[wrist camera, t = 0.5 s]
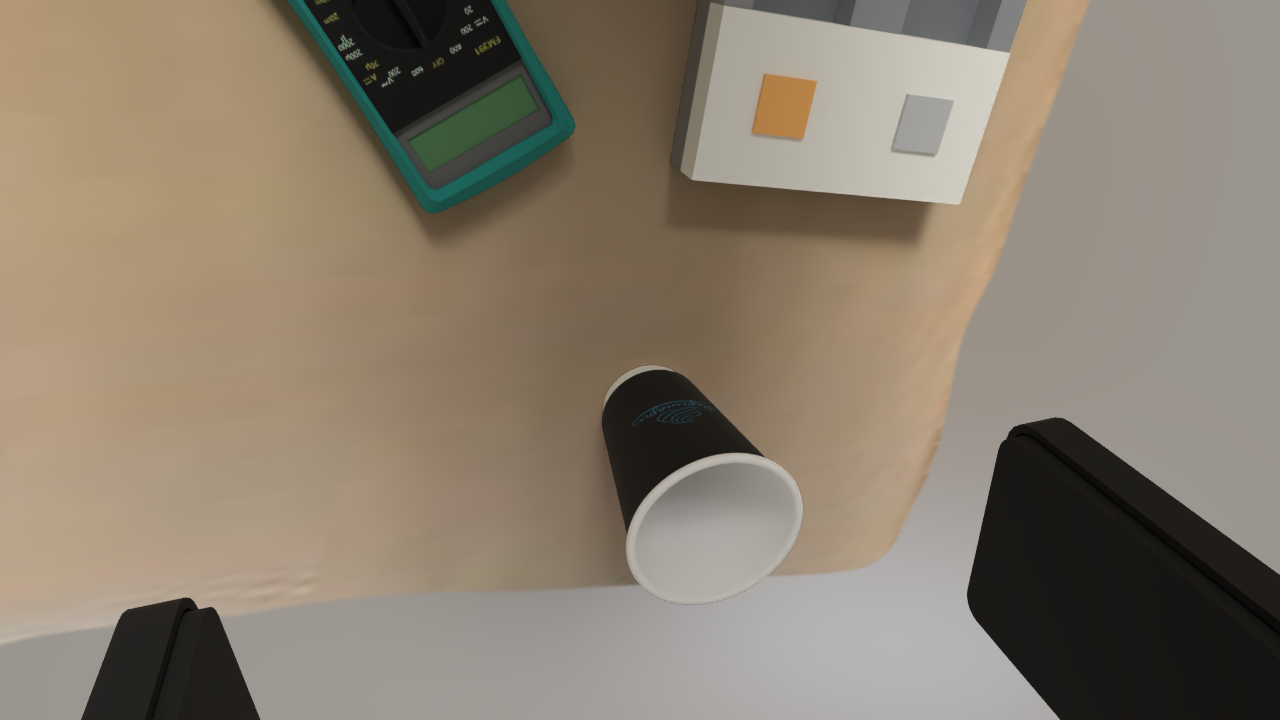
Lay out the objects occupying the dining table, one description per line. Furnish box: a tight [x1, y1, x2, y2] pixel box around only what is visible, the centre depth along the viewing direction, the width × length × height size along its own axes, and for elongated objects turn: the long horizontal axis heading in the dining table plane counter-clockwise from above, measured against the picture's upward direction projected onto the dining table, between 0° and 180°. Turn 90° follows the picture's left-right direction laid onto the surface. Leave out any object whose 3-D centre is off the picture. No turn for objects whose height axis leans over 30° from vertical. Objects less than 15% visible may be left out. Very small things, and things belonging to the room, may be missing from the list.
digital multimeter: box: [287, 0, 575, 214], centre depth 31 cm, size 7×15×3 cm, turn 27°
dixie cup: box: [602, 365, 803, 605], centre depth 39 cm, size 8×8×11 cm
